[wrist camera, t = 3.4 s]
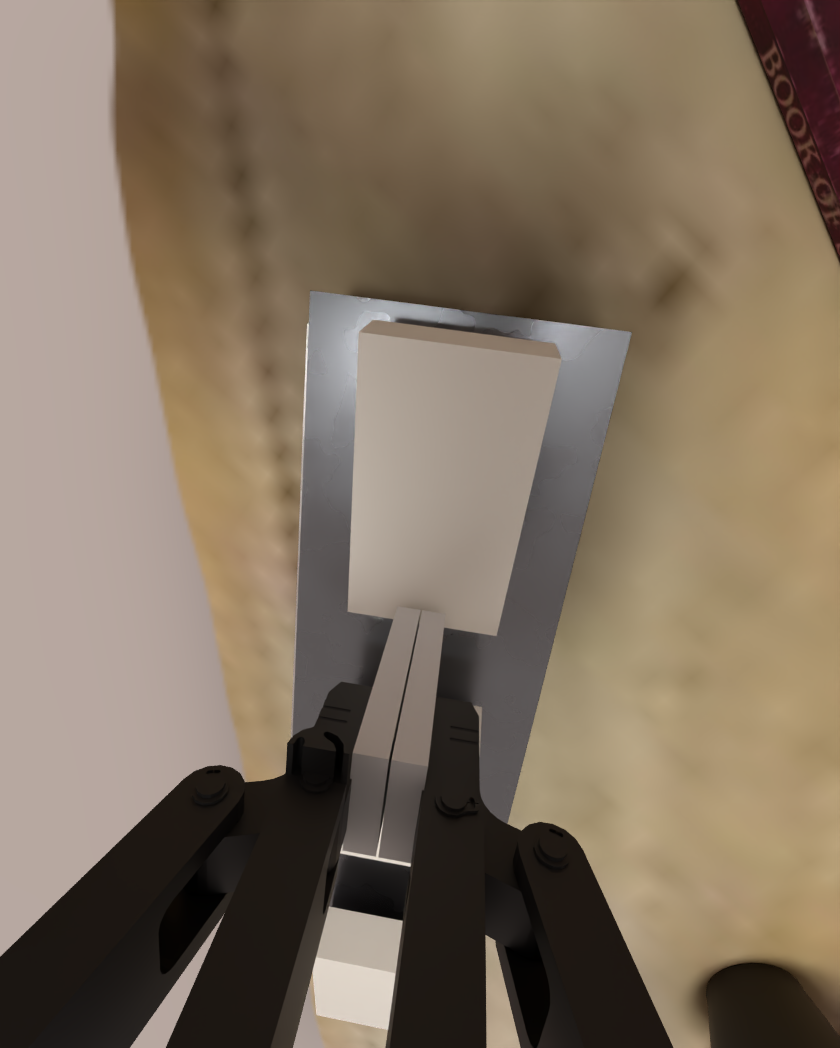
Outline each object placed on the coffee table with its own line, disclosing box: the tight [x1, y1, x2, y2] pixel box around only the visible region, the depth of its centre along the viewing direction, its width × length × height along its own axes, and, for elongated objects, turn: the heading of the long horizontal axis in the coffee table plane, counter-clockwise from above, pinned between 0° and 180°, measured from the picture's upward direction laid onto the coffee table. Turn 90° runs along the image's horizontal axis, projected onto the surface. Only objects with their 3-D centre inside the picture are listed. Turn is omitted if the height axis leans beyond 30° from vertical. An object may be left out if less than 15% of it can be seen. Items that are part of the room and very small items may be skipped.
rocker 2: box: [348, 320, 562, 636], centre depth 17 cm, size 9×5×3 cm, turn 173°
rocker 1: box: [313, 907, 403, 1030], centre depth 25 cm, size 9×5×3 cm, turn 174°
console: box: [291, 291, 632, 921], centre depth 25 cm, size 34×10×5 cm, turn 173°
